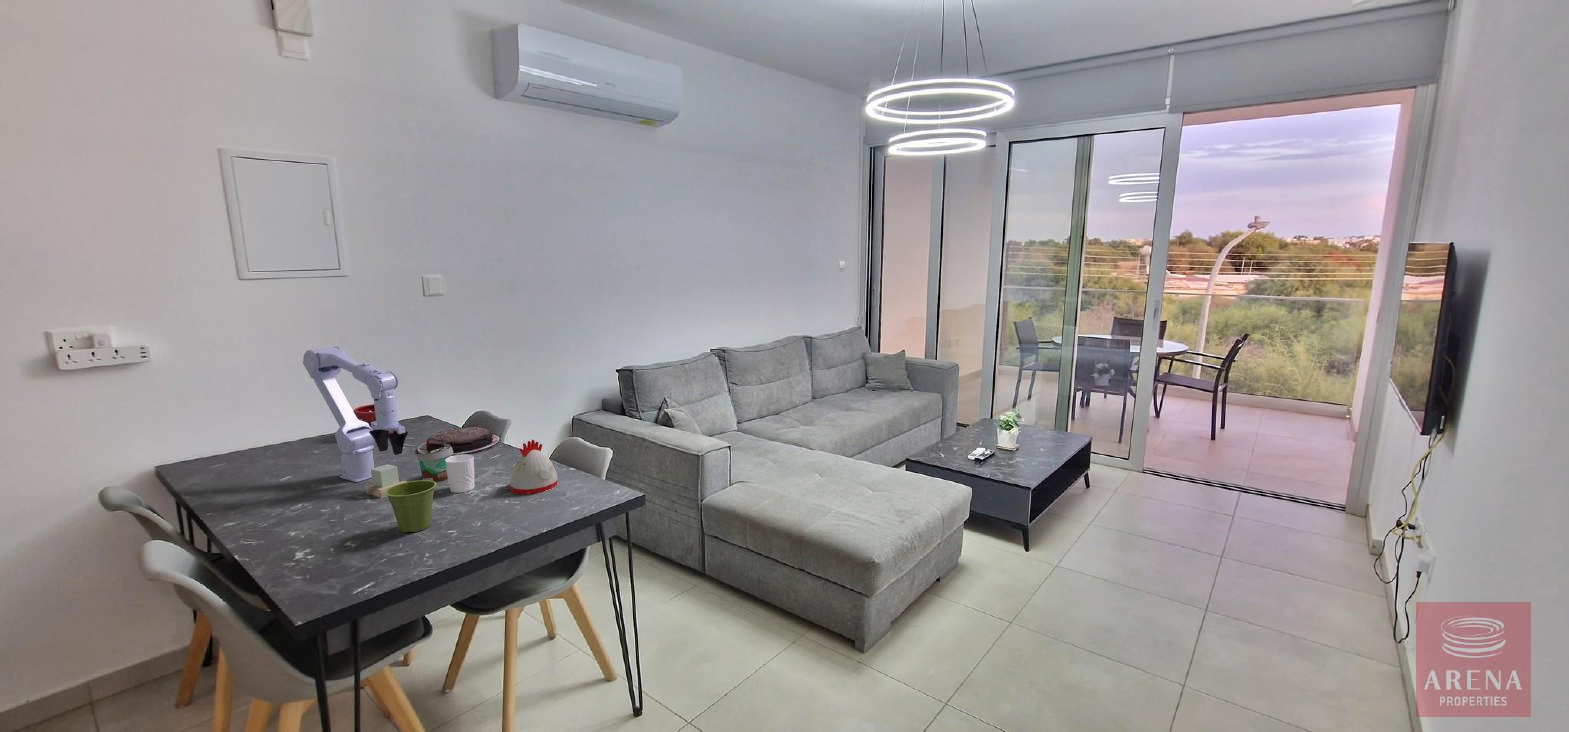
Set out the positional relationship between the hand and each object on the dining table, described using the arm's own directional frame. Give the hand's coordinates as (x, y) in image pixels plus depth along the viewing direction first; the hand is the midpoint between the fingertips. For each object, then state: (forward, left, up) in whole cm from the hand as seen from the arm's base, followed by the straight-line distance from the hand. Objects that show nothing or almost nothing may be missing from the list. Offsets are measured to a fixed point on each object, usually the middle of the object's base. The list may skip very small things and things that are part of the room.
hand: (390, 452), depth 198 cm
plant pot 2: (+39, -18, -10) cm, 44 cm away
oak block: (+6, -6, -10) cm, 13 cm away
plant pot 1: (-58, +28, -10) cm, 65 cm away
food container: (+11, +9, -10) cm, 17 cm away
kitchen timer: (+43, +18, -10) cm, 48 cm away
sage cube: (+6, -6, -7) cm, 11 cm away
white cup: (+25, +6, -10) cm, 28 cm away
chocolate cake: (-16, +35, -10) cm, 40 cm away
